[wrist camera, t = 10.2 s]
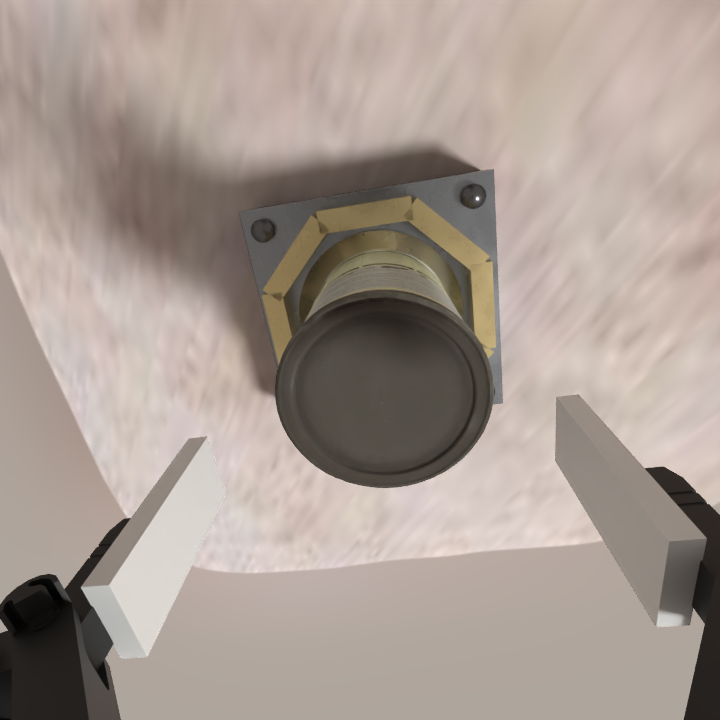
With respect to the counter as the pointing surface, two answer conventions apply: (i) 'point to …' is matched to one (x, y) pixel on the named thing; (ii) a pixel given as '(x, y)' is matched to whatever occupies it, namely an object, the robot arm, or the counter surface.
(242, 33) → the counter surface
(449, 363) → the coffee can
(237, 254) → the counter surface
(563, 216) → the counter surface
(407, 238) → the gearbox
